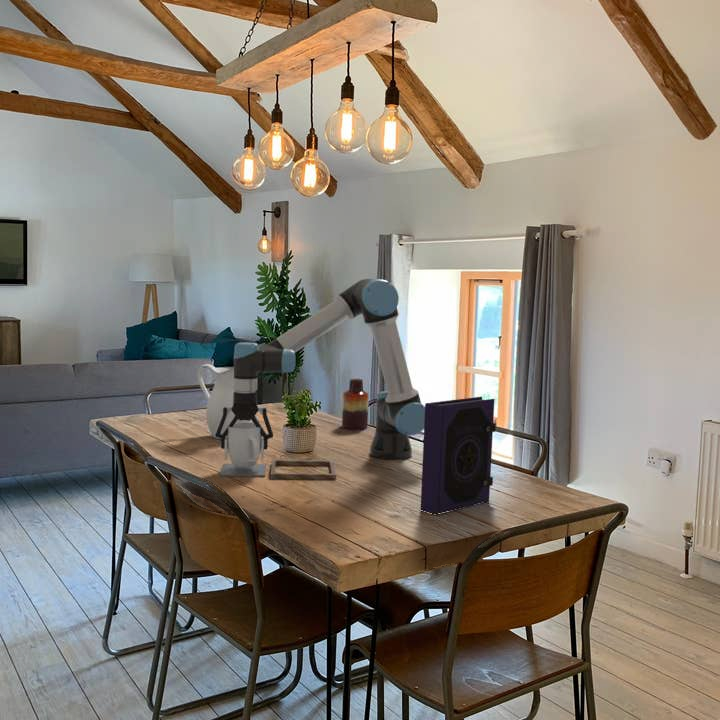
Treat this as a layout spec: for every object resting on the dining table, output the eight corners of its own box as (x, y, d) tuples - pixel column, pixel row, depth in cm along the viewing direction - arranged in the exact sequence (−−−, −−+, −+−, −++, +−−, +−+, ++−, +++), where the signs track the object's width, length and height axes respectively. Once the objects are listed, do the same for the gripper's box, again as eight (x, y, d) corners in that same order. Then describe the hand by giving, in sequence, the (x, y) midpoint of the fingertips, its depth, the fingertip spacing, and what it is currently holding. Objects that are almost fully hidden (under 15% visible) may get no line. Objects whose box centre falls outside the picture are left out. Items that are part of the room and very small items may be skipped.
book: (436, 516, 207) (441, 406, 204) (419, 510, 212) (424, 402, 209) (491, 501, 223) (497, 399, 220) (474, 496, 227) (479, 396, 224)
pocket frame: (332, 465, 260) (333, 460, 259) (336, 479, 241) (336, 474, 241) (272, 464, 258) (272, 459, 258) (270, 478, 240) (270, 473, 239)
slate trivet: (266, 465, 255) (266, 464, 255) (264, 476, 242) (265, 474, 242) (223, 465, 254) (223, 463, 254) (219, 476, 240) (219, 474, 240)
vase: (367, 430, 322) (369, 381, 319) (341, 429, 322) (343, 380, 319) (367, 425, 332) (369, 378, 330) (342, 424, 332) (344, 377, 330)
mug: (272, 469, 244) (273, 429, 243) (241, 473, 238) (241, 432, 236) (252, 459, 256) (252, 421, 255) (221, 463, 250) (221, 423, 249)
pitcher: (258, 436, 301) (260, 365, 298) (229, 443, 287) (230, 369, 284) (213, 428, 314) (214, 360, 311) (183, 434, 300) (184, 363, 297)
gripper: (282, 390, 250) (280, 456, 252) (209, 388, 248) (208, 455, 250) (282, 393, 242) (280, 462, 245) (206, 392, 240) (206, 461, 243)
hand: (244, 458), depth 247 cm, fingers closed on mug, 11 cm apart
